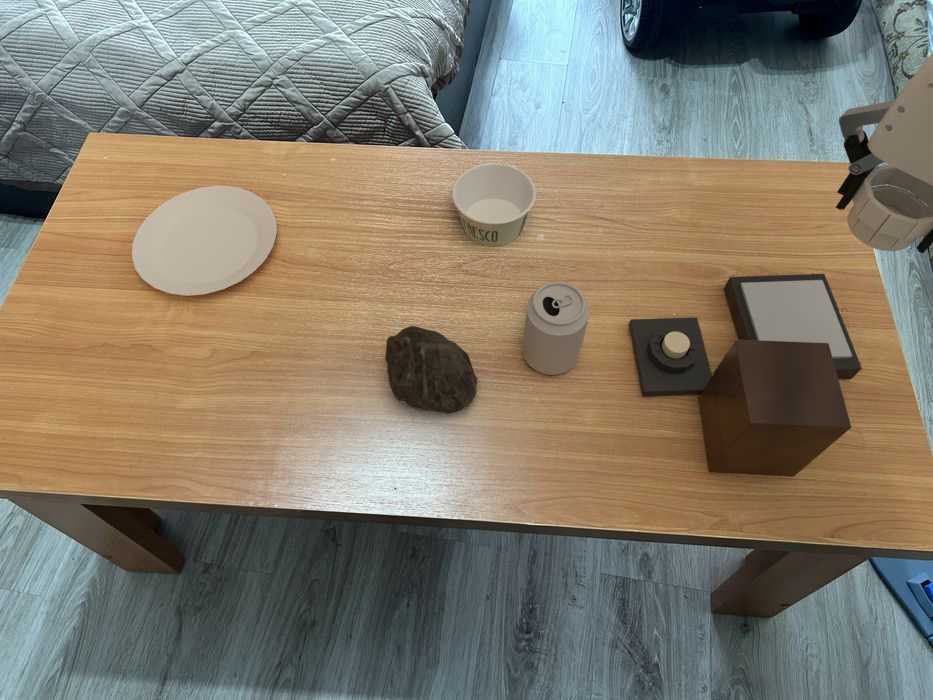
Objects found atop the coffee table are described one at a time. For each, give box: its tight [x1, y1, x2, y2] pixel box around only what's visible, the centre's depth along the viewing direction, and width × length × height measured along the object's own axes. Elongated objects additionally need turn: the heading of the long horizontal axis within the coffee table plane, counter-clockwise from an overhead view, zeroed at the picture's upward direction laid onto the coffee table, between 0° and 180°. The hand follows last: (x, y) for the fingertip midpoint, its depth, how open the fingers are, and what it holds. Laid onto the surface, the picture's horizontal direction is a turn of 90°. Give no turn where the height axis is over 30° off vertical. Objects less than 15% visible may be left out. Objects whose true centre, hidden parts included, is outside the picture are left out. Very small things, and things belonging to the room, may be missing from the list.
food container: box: [451, 162, 537, 247], centre depth 96 cm, size 12×12×6 cm
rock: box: [384, 325, 479, 415], centre depth 80 cm, size 10×11×10 cm
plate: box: [131, 185, 278, 297], centre depth 96 cm, size 21×21×2 cm
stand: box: [697, 339, 852, 477], centre depth 74 cm, size 10×10×14 cm
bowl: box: [846, 163, 933, 252], centre depth 59 cm, size 7×7×4 cm
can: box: [521, 280, 590, 376], centre depth 81 cm, size 8×8×12 cm
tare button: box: [662, 332, 690, 359], centre depth 83 cm, size 3×3×2 cm
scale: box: [723, 273, 863, 380], centre depth 86 cm, size 15×13×3 cm
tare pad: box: [628, 316, 713, 398], centre depth 84 cm, size 11×9×3 cm
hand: (885, 220), depth 60 cm, fingers closed on bowl, 7 cm apart
